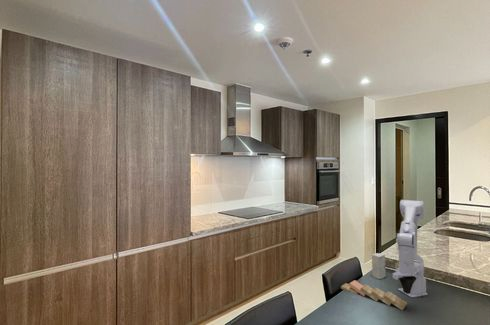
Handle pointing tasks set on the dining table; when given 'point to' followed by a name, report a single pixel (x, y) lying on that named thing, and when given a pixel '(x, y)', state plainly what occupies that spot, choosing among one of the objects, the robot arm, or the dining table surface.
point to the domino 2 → (356, 287)
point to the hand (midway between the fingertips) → (406, 292)
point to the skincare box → (378, 265)
